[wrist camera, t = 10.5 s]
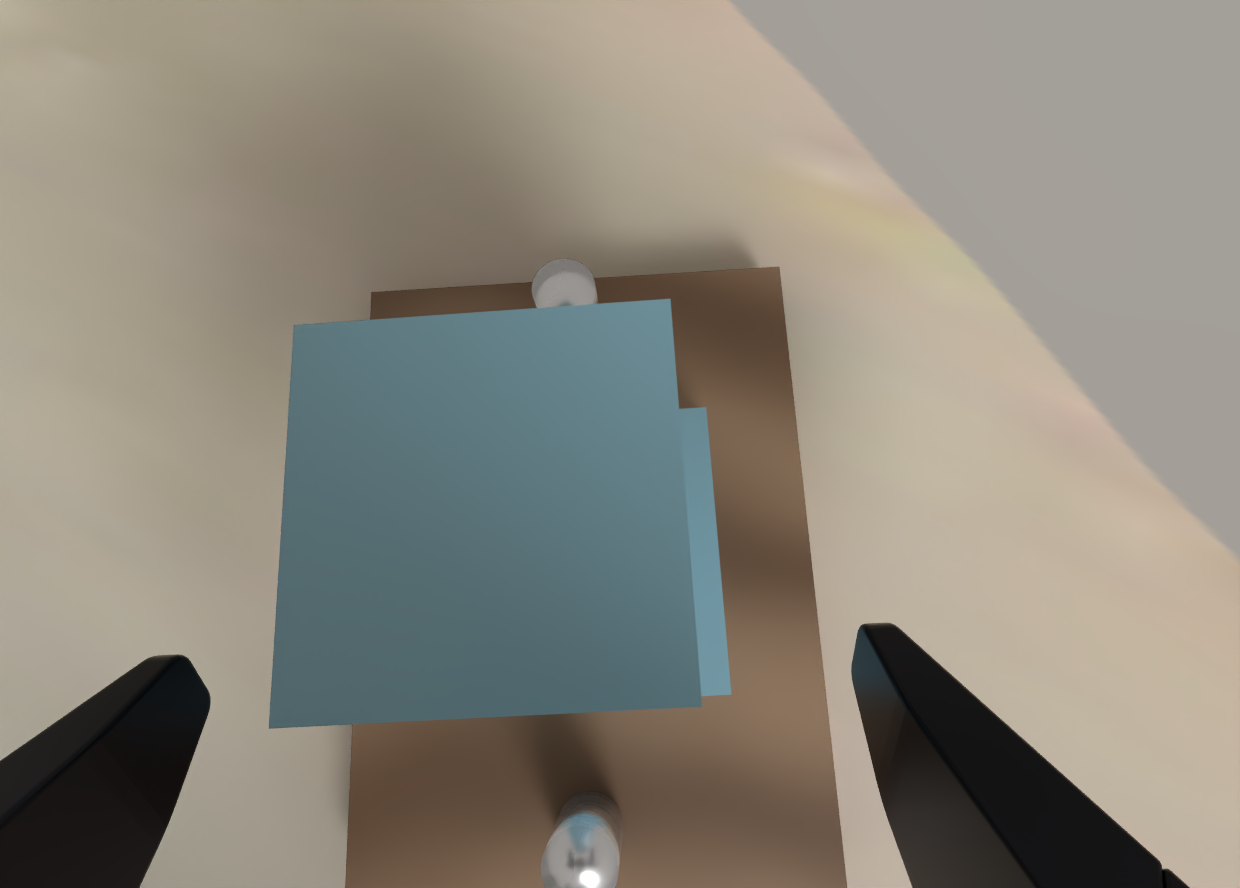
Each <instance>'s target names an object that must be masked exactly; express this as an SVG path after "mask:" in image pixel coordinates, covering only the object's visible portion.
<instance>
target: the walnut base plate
mask: <svg viewBox="0 0 1240 888" xmlns="http://www.w3.org/2000/svg"><path fill="white" fill-rule="evenodd" d="M594 281H595V286H596V291H597V297H598V303H599V304H602V303H616V302H631V301H645V300H659V299H671V312H672V325H673V338H674V351H675V364H676V376H677V389H678V402H679V409H686V408H701V407H706V410H707V422H708V433H709V444H710V456H711V467H712V479H713V490H714V501H715V513H716V524H717V536H718V547H719V558H720V570H721V581H722V593H723V604H724V615H725V627H726V638H727V649H728V661H729V672H730V684H731V695H715V696H701V697H702V707H687V708H667V709H647V710H627V711H607V712H587V713H567V714H547V715H527V716H508V717H488V718H468V719H448V720H428V721H408V722H388V723H368V724H352V747H351V770H350V792H349V815H348V838H347V860H346V883H345V888H544V885H543V882H542V877H541V862H542V858H543V854H544V852H545V849H546V847H547V844H548V842H549V839H550V837H551V834H552V832H553V829H554V827H555V825H556V822H557V820H558V817H559V815H560V812H561V810H562V808H563V806H564V805H565V803H566V802H567V801H568V800H569V799H570V798H571V797H573V796H574V795H576V794H578V793H580V792H583V791H597V792H601V793H603V794H605V795H607V796H608V797H610V798H611V799H612V800H613V801H614V802H615V804H616V805H617V807H618V808H619V810H620V813H621V815H622V819H623V836H622V845H621V854H620V863H619V872H618V879H617V883H616V886H615V888H847V881H846V872H845V863H844V854H843V845H842V836H841V827H840V818H839V808H838V799H837V790H836V781H835V772H834V763H833V754H832V744H831V735H830V726H829V717H828V708H827V699H826V690H825V680H824V671H823V662H822V653H821V644H820V635H819V626H818V616H817V607H816V598H815V589H814V580H813V571H812V562H811V553H810V543H809V534H808V525H807V516H806V507H805V498H804V489H803V479H802V470H801V461H800V452H799V443H798V434H797V425H796V415H795V406H794V397H793V388H792V379H791V370H790V361H789V351H788V342H787V333H786V324H785V315H784V306H783V297H782V288H781V278H780V269H779V267H767V268H751V269H735V270H719V271H703V272H687V273H671V274H655V275H640V276H624V277H608V278H594ZM532 283H533V282H528V283H512V284H496V285H480V286H464V287H448V288H433V289H417V290H401V291H385V292H372V293H371V316H370V320H375V319H389V318H403V317H417V316H432V315H446V314H460V313H474V312H488V311H503V310H517V309H531V308H537V307H536V304H535V302H534V299H533V296H532Z"/></svg>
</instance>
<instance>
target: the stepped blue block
mask: <svg viewBox="0 0 1240 888" xmlns="http://www.w3.org/2000/svg"><path fill="white" fill-rule="evenodd" d="M715 695H731V684H730V672H729V661H728V649H727V638H726V627H725V615H724V604H723V593H722V581H721V570H720V558H719V547H718V536H717V524H716V513H715V501H714V490H713V479H712V467H711V456H710V444H709V433H708V422H707V410H706V407H701V408H686V409H679V402H678V389H677V376H676V364H675V351H674V338H673V325H672V312H671V299H659V300H645V301H631V302H616V303H602V304H588V305H574V306H559V307H545V308H531V309H517V310H503V311H488V312H474V313H460V314H446V315H432V316H417V317H403V318H389V319H375V320H360V321H346V322H332V323H318V324H304V325H294V332H293V348H292V364H291V381H290V397H289V413H288V429H287V445H286V461H285V477H284V493H283V509H282V525H281V541H280V557H279V573H278V589H277V605H276V621H275V638H274V654H273V670H272V686H271V702H270V718H269V728H289V727H309V726H328V725H348V724H368V723H388V722H408V721H428V720H448V719H468V718H488V717H508V716H527V715H547V714H567V713H587V712H607V711H627V710H647V709H667V708H687V707H702V697H701V696H715Z"/></svg>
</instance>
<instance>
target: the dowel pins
mask: <svg viewBox="0 0 1240 888" xmlns="http://www.w3.org/2000/svg"><path fill="white" fill-rule="evenodd" d="M532 296H533V299H534V302H535V304H536V307H537V308H545V307H559V306H574V305H588V304H599V303H598V297H597V291H596V286H595V281H594V277H593V275H592V273H591V272H590V270H589V269H588V268H587V267H586V266H585V265H583V264H582V263H580V262H578V261H576V260H572V259H558V260H554V261H551V262H549V263H547V264H546V265H544V266H543V267H542V268H541V269H540V270H539V271H538V272H537V274H536V275H535V277H534V280H533V283H532ZM622 836H623V819H622V815H621V813H620V810H619V808H618V807H617V805H616V804H615V802H614V801H613V800H612V799H611V798H610V797H608V796H607V795H605V794H603V793H601V792H597V791H583V792H580V793H578V794H576V795H574V796H573V797H571V798H570V799H569V800H568V801H567V802H566V803H565V805H564V806H563V808H562V810H561V812H560V815H559V817H558V820H557V822H556V825H555V827H554V829H553V832H552V834H551V837H550V839H549V842H548V844H547V847H546V849H545V852H544V854H543V858H542V862H541V877H542V882H543V885H544V888H615V886H616V883H617V879H618V872H619V863H620V854H621V845H622Z"/></svg>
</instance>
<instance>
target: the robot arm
mask: <svg viewBox="0 0 1240 888" xmlns="http://www.w3.org/2000/svg"><path fill="white" fill-rule="evenodd" d="M851 672H852V681H853V686H854V690H855V694H856V698H857V702H858V707H859V711H860V715H861V719H862V723H863V727H864V731H865V735H866V739H867V743H868V748H869V752H870V756H871V760H872V764H873V768H874V772H875V776H876V780H877V784H878V788H879V792H880V796H881V799H882V803H883V806H884V809H885V812H886V815H887V818H888V821H889V824H890V826H891V829H892V832H893V835H894V837H895V840H896V843H897V846H898V849H899V851H900V854H901V857H902V860H903V862H904V865H905V868H906V871H907V874H908V876H909V879H910V882H911V885H912V887H913V888H1190V887H1188V886H1187V885H1186V884H1185V883H1184V882H1183V881H1182V880H1181V879H1180V878H1178V877H1177V876H1176V875H1175V874H1174V873H1173V872H1172V871H1170V870H1169V869H1162V865H1161V863H1160V861H1159V860H1158V859H1157V858H1156V857H1155V856H1153V855H1152V854H1151V853H1150V852H1149V851H1148V850H1147V849H1146V848H1144V847H1143V846H1142V845H1141V844H1140V843H1139V842H1138V841H1137V840H1135V839H1134V838H1133V837H1132V836H1131V835H1130V834H1129V833H1128V832H1127V831H1125V830H1124V829H1123V828H1122V827H1121V826H1120V825H1119V824H1118V823H1116V822H1115V821H1114V820H1113V819H1112V818H1111V817H1110V816H1109V815H1108V814H1106V813H1105V812H1104V811H1103V810H1102V809H1101V808H1100V807H1099V806H1097V805H1096V804H1095V803H1094V802H1093V801H1092V800H1091V799H1090V798H1089V797H1087V796H1086V795H1085V794H1084V793H1083V792H1082V791H1081V790H1080V789H1078V788H1077V787H1076V786H1075V785H1074V784H1073V783H1072V782H1071V781H1070V780H1068V779H1067V778H1066V777H1065V776H1064V775H1063V774H1062V773H1061V772H1059V771H1058V770H1057V769H1056V768H1055V767H1054V766H1053V765H1052V764H1051V763H1049V762H1048V761H1047V760H1046V759H1045V758H1044V757H1043V756H1042V755H1040V754H1039V753H1038V752H1037V751H1036V750H1035V749H1034V748H1033V747H1031V746H1030V745H1029V744H1028V743H1027V742H1026V741H1025V740H1024V739H1023V738H1021V737H1020V736H1019V735H1018V734H1017V733H1016V732H1015V731H1014V730H1012V729H1011V728H1010V727H1009V726H1008V725H1007V724H1006V723H1005V722H1004V721H1002V720H1001V719H1000V718H999V717H998V716H997V715H996V714H995V713H993V712H992V711H991V710H990V709H989V708H988V707H987V706H986V705H985V704H983V703H982V702H981V701H980V700H979V699H978V698H977V697H976V696H974V695H973V694H972V693H971V692H970V691H969V690H968V689H967V688H966V687H964V686H963V685H962V684H961V683H960V682H959V681H958V680H957V679H955V678H954V677H953V676H952V675H951V674H950V673H949V672H948V671H947V670H945V669H944V668H943V667H942V666H941V665H940V664H939V663H938V662H936V661H935V660H934V659H933V658H932V657H931V656H930V655H929V654H928V653H926V652H925V651H924V650H923V649H922V648H921V647H920V646H919V645H917V644H916V643H915V642H914V641H913V640H912V639H911V638H910V637H908V636H907V635H906V634H905V633H904V632H903V631H902V630H901V629H900V628H898V627H897V626H896V625H894V624H891V623H870V624H863V625H861V626H860V628H859V630H858V633H857V639H856V644H855V650H854V655H853V661H852V670H851ZM209 709H210V694H209V691H208V689H207V688H206V686H205V684H204V683H203V681H202V680H201V678H200V676H199V675H198V673H197V671H196V670H195V668H194V666H193V665H192V663H191V661H190V660H189V659H188V658H187V657H185V656H183V655H159V656H153V657H150V658H148V659H146V660H144V661H143V662H141V663H140V664H138V665H137V666H136V667H134V668H133V669H131V670H130V671H128V672H127V673H125V674H124V675H123V676H121V677H120V678H118V679H117V680H115V681H114V682H113V683H111V684H110V685H108V686H107V687H105V688H104V689H103V690H101V691H100V692H98V693H97V694H95V695H94V696H93V697H91V698H90V699H88V700H87V701H85V702H84V703H83V704H81V705H80V706H78V707H77V708H75V709H74V710H73V711H71V712H70V713H68V714H67V715H65V716H64V717H63V718H61V719H60V720H58V721H57V722H55V723H54V724H52V725H51V726H50V727H48V728H47V729H45V730H44V731H42V732H41V733H40V734H38V735H37V736H35V737H34V738H32V739H31V740H30V741H28V742H27V743H25V744H24V745H22V746H21V747H20V748H18V749H17V750H15V751H14V752H12V753H11V754H10V755H8V756H7V757H5V758H4V759H2V760H1V761H0V888H139V887H140V885H141V883H142V881H143V879H144V877H145V874H146V872H147V870H148V868H149V866H150V864H151V862H152V859H153V857H154V855H155V853H156V851H157V849H158V846H159V844H160V842H161V840H162V837H163V835H164V833H165V831H166V828H167V826H168V823H169V821H170V818H171V816H172V813H173V810H174V808H175V805H176V803H177V800H178V797H179V794H180V791H181V789H182V786H183V783H184V780H185V777H186V775H187V772H188V769H189V766H190V763H191V761H192V758H193V755H194V752H195V749H196V747H197V744H198V741H199V738H200V735H201V733H202V730H203V727H204V724H205V722H206V719H207V716H208V713H209Z"/></svg>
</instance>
